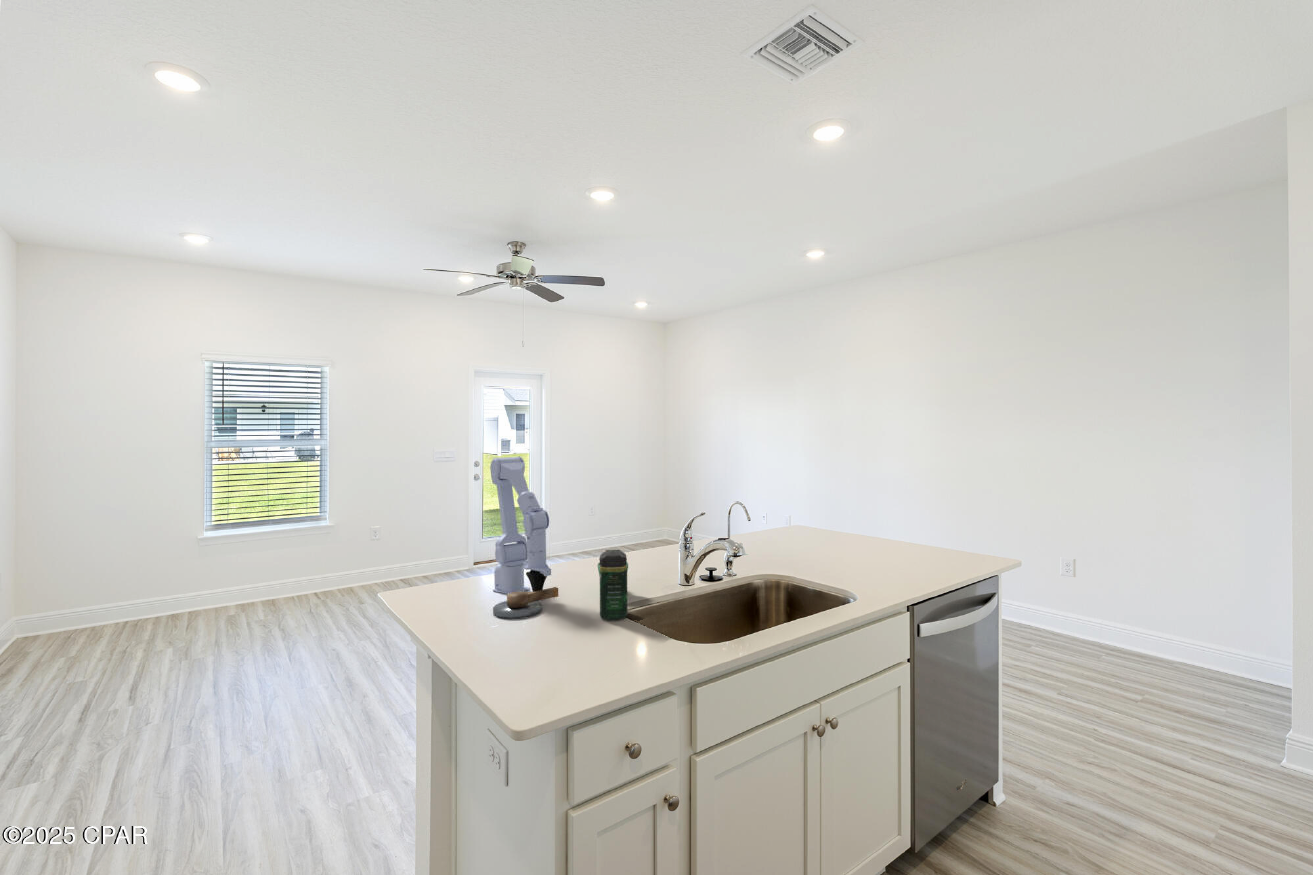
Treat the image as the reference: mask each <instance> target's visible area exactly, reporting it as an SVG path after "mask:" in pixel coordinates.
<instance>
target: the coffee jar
mask: <svg viewBox="0 0 1313 875" xmlns="http://www.w3.org/2000/svg"><path fill="white" fill-rule="evenodd" d="M598 563H599V564H600V565H599V566H600V576H599V615H600V618H601V619H602V620H608V621H610V622H611V621H613V622H614V621H619V620H622V619H623V620H624V619H626V617H627V616H628V571H627V563H628V558H627V554H626V553H625V552H624V551H622V550H621V549H606V550H605V551H604V552H602V553H601V554H600V555H599V562H598Z"/></svg>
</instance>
